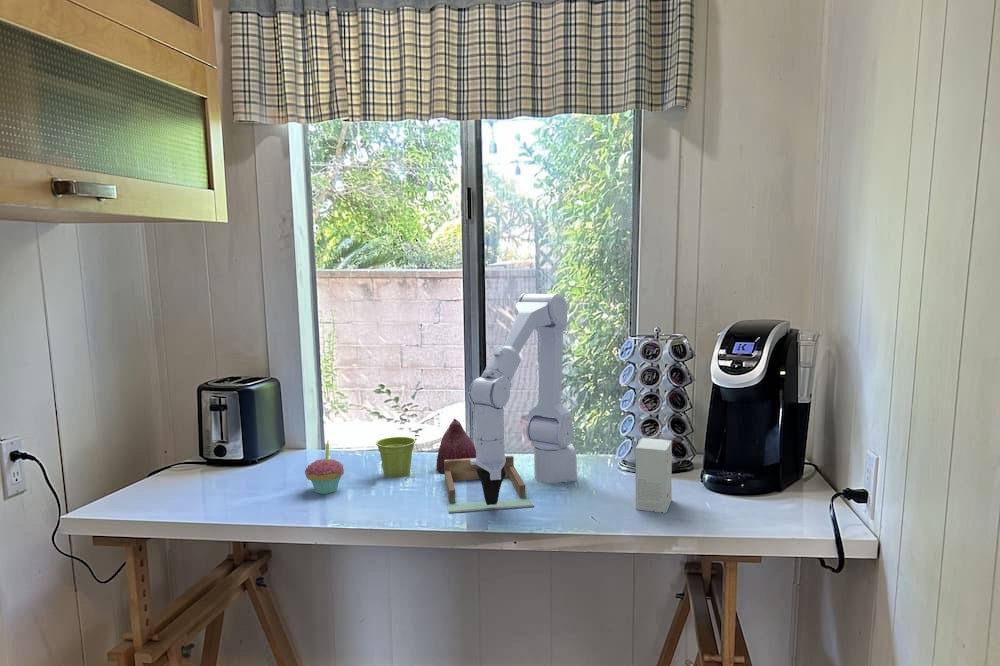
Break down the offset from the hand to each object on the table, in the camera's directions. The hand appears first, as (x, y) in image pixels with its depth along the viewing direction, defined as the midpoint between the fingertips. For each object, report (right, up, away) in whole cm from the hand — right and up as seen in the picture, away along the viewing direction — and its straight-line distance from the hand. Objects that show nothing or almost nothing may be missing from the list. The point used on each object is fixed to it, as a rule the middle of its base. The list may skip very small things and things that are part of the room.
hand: (491, 503), depth 125 cm
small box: (+34, -2, +4) cm, 34 cm away
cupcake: (-38, -2, +16) cm, 41 cm away
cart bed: (-2, -1, +12) cm, 12 cm away
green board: (-1, -1, +4) cm, 4 cm away
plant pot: (-23, -1, +26) cm, 35 cm away
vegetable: (-9, 0, +31) cm, 32 cm away
